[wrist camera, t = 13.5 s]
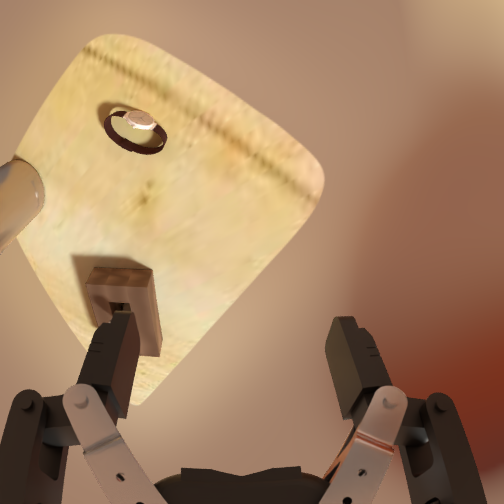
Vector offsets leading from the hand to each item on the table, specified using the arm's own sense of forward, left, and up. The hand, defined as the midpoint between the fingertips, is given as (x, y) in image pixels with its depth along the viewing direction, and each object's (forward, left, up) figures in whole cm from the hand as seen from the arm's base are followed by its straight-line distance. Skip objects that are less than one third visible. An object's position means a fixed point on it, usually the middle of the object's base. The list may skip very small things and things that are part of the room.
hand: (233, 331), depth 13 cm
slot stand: (-15, -25, -28) cm, 40 cm away
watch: (-11, +2, -29) cm, 31 cm away
